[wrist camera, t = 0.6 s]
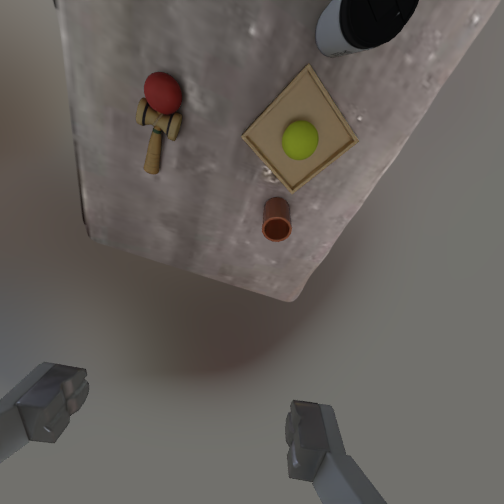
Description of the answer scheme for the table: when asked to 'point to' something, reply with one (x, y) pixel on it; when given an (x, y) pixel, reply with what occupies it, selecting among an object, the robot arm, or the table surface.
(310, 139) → the tennis ball
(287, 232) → the cup
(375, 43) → the travel mug
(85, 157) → the table surface
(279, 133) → the tray
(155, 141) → the kendama
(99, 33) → the table surface
